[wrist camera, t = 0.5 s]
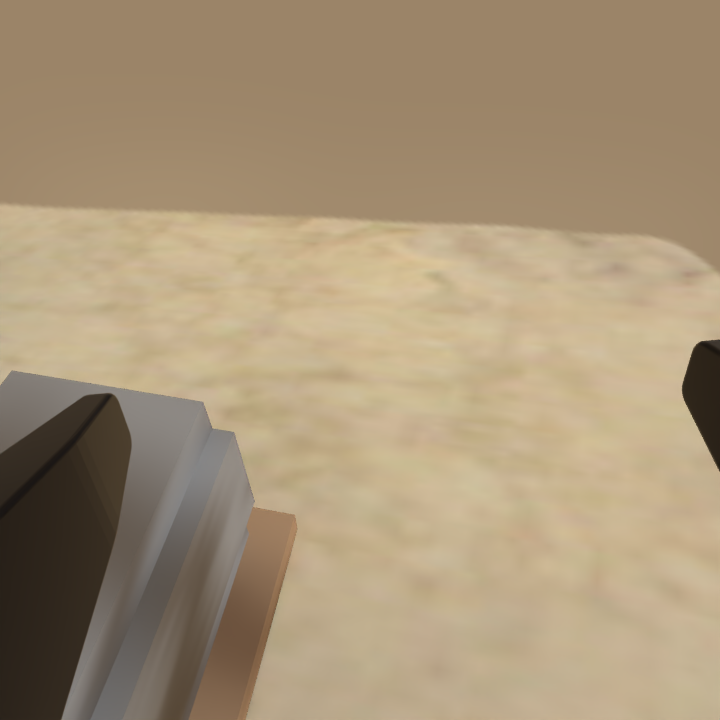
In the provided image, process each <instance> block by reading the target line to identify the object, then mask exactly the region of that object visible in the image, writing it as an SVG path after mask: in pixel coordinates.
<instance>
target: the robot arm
mask: <svg viewBox="0 0 720 720" xmlns="http://www.w3.org/2000/svg"><path fill="white" fill-rule="evenodd" d="M682 394H683V398H684V401H685V403H686V405H687V407H688V409H689V411H690V413H691V415H692V417H693V419H694V421H695V423H696V425H697V427H698V429H699V431H700V433H701V435H702V437H703V439H704V441H705V443H706V445H707V447H708V449H709V451H710V453H711V455H712V457H713V459H714V461H715V463H716V466H717V467H718V469H719V471H720V340H710V341H701V342H699V343H698V344H696V346H695V347H694V348H693V351H692V354H691V357H690V361H689V364H688V367H687V371H686V374H685V377H684V381H683V385H682ZM131 449H132V439H131V434H130V431H129V428H128V425H127V423H126V420H125V417H124V414H123V412H122V409H121V406H120V403H119V401H118V399H117V397H116V396H115V395H114V394H112V393H101V394H89V395H85V396H83V397H82V398H80V399H79V400H77V401H76V402H74V403H73V404H72V405H70V406H69V407H67V408H66V409H64V410H63V411H61V412H60V413H58V414H57V415H56V416H54V417H53V418H51V419H50V420H48V421H47V422H45V423H44V424H43V425H41V426H40V427H38V428H37V429H35V430H34V431H32V432H31V433H30V434H28V435H27V436H25V437H24V438H22V439H21V440H19V441H18V442H16V443H15V444H14V445H12V446H11V447H9V448H8V449H6V450H5V451H3V452H2V453H1V454H0V720H62V716H63V713H64V710H65V706H66V703H67V700H68V696H69V693H70V690H71V686H72V683H73V680H74V676H75V673H76V670H77V666H78V663H79V660H80V656H81V653H82V650H83V646H84V643H85V640H86V636H87V633H88V630H89V626H90V623H91V620H92V616H93V613H94V610H95V606H96V603H97V600H98V596H99V593H100V590H101V586H102V583H103V580H104V576H105V573H106V570H107V566H108V563H109V560H110V556H111V553H112V549H113V546H114V542H115V538H116V534H117V530H118V525H119V519H120V514H121V508H122V502H123V496H124V490H125V485H126V479H127V473H128V467H129V461H130V455H131Z"/></svg>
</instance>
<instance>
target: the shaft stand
mask: <svg viewBox="0 0 720 720" xmlns="http://www.w3.org/2000/svg"><path fill="white" fill-rule="evenodd" d="M101 393H112V394H114V395H115V396H116V397H117V399H118V401H119V403H120V406H121V409H122V412H123V414H124V417H125V420H126V423H127V425H128V428H129V431H130V434H131V439H132V449H131V455H130V461H129V467H128V473H127V479H126V485H125V490H124V496H123V502H122V508H121V514H120V519H119V525H118V530H117V534H116V538H115V542H114V546H113V549H112V553H111V556H110V560H109V563H108V566H107V570H106V573H105V576H104V580H103V583H102V586H101V590H100V593H99V596H98V600H97V603H96V606H95V610H94V613H93V616H92V620H91V623H90V626H89V630H88V633H87V636H86V640H85V643H84V646H83V650H82V653H81V656H80V660H79V663H78V666H77V670H76V673H75V676H74V680H73V683H72V686H71V690H70V693H69V696H68V700H67V703H66V706H65V710H64V713H63V716H62V720H245V719H246V715H247V712H248V708H249V704H250V701H251V697H252V693H253V690H254V686H255V682H256V679H257V675H258V671H259V668H260V664H261V660H262V657H263V653H264V649H265V646H266V642H267V638H268V635H269V631H270V627H271V624H272V620H273V616H274V613H275V609H276V605H277V602H278V598H279V594H280V591H281V587H282V583H283V580H284V576H285V572H286V569H287V565H288V561H289V558H290V554H291V550H292V547H293V543H294V539H295V536H296V532H297V524H296V519H295V515H292V514H287V513H281V512H276V511H270V510H265V509H260V508H254V507H253V505H254V502H255V500H254V497H253V494H252V490H251V487H250V484H249V480H248V477H247V474H246V470H245V467H244V464H243V460H242V457H241V453H240V450H239V447H238V443H237V440H236V437H235V433H234V432H230V431H224V430H218V429H212V426H211V423H210V420H209V417H208V414H207V412H206V409H205V406H204V403H203V402H200V401H194V400H188V399H182V398H176V397H170V396H164V395H158V394H151V393H145V392H139V391H133V390H127V389H121V388H115V387H109V386H103V385H97V384H91V383H84V382H78V381H72V380H66V379H60V378H54V377H48V376H42V375H36V374H30V373H23V372H17V371H11V372H10V373H9V375H8V376H7V378H6V379H5V380H4V382H3V383H2V384H1V386H0V454H1V453H2V452H3V451H5V450H6V449H8V448H9V447H11V446H12V445H14V444H15V443H16V442H18V441H19V440H21V439H22V438H24V437H25V436H27V435H28V434H30V433H31V432H32V431H34V430H35V429H37V428H38V427H40V426H41V425H43V424H44V423H45V422H47V421H48V420H50V419H51V418H53V417H54V416H56V415H57V414H58V413H60V412H61V411H63V410H64V409H66V408H67V407H69V406H70V405H72V404H73V403H74V402H76V401H77V400H79V399H80V398H82V397H83V396H85V395H89V394H101Z"/></svg>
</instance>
